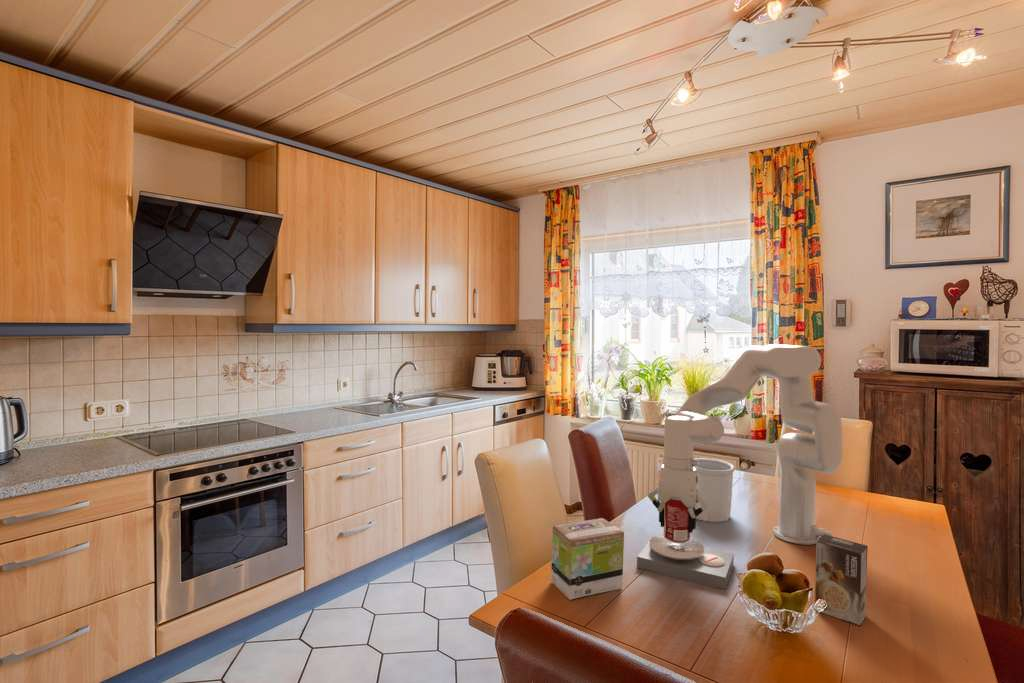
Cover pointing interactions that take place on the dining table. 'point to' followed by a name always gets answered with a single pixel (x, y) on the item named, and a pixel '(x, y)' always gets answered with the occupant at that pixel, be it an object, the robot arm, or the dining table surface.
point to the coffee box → (841, 578)
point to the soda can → (676, 521)
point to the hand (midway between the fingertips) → (677, 527)
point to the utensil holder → (715, 488)
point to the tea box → (587, 557)
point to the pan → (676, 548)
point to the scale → (690, 566)
